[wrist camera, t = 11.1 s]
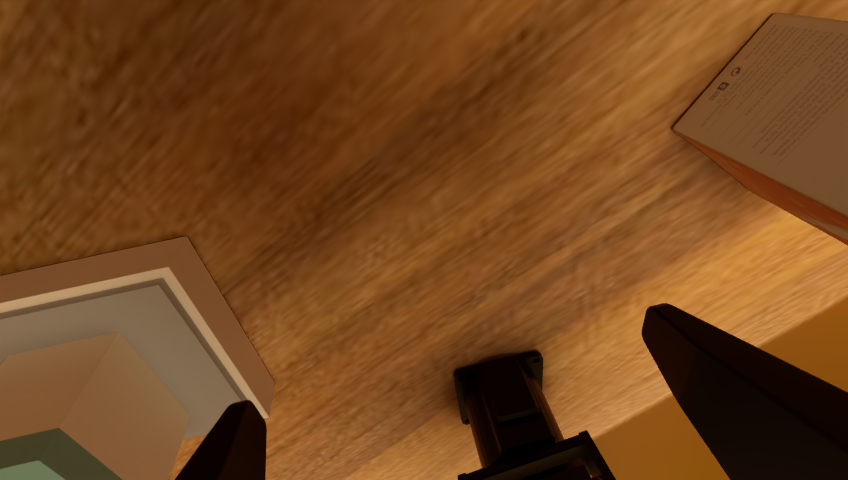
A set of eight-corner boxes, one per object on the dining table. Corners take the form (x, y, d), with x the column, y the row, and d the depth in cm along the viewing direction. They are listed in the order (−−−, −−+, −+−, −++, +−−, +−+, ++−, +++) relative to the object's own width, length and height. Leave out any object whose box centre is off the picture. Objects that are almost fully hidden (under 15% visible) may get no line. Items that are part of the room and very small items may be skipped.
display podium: (275, 382, 27) (267, 424, 24) (92, 425, 26) (65, 472, 24) (186, 235, 20) (164, 273, 17) (-63, 289, 19) (-123, 336, 17)
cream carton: (119, 331, 19) (38, 460, 14) (190, 415, 23) (147, 538, 18) (9, 355, 19) (-113, 494, 14) (101, 436, 23) (32, 566, 18)
